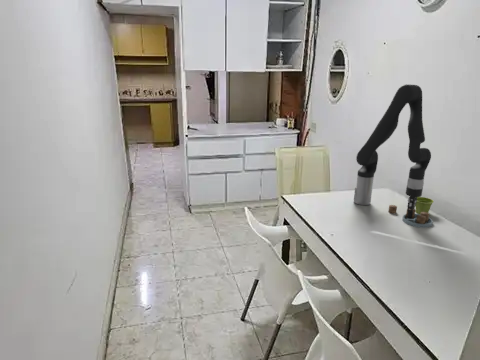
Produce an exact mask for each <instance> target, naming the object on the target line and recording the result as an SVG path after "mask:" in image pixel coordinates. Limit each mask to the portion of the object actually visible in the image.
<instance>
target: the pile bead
mask: <svg viewBox="0 0 480 360" xmlns="http://www.w3.org/2000/svg"><path fill="white" fill-rule="evenodd" d="M397 209H398V206H397V205H394V204H389V206H388V213H390V214H397Z"/></svg>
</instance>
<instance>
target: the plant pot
mask: <svg viewBox="0 0 480 360" xmlns="http://www.w3.org/2000/svg"><path fill="white" fill-rule="evenodd" d="M434 201H435V200H433V199H432V198H428V197H425V196H421V197H417V202H416V206H415V214H421V212H427V213H429V212H430V210H431V207H432V205H433V203H434ZM429 214H430V213H429Z"/></svg>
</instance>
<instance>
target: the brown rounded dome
mask: <svg viewBox="0 0 480 360" xmlns="http://www.w3.org/2000/svg"><path fill="white" fill-rule="evenodd" d="M409 210H412V209H409ZM405 214H406V218H407V214H408V212H407V211H406V213H405ZM415 214H416V208H415V209H413V213H412V219H414V216H415Z"/></svg>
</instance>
